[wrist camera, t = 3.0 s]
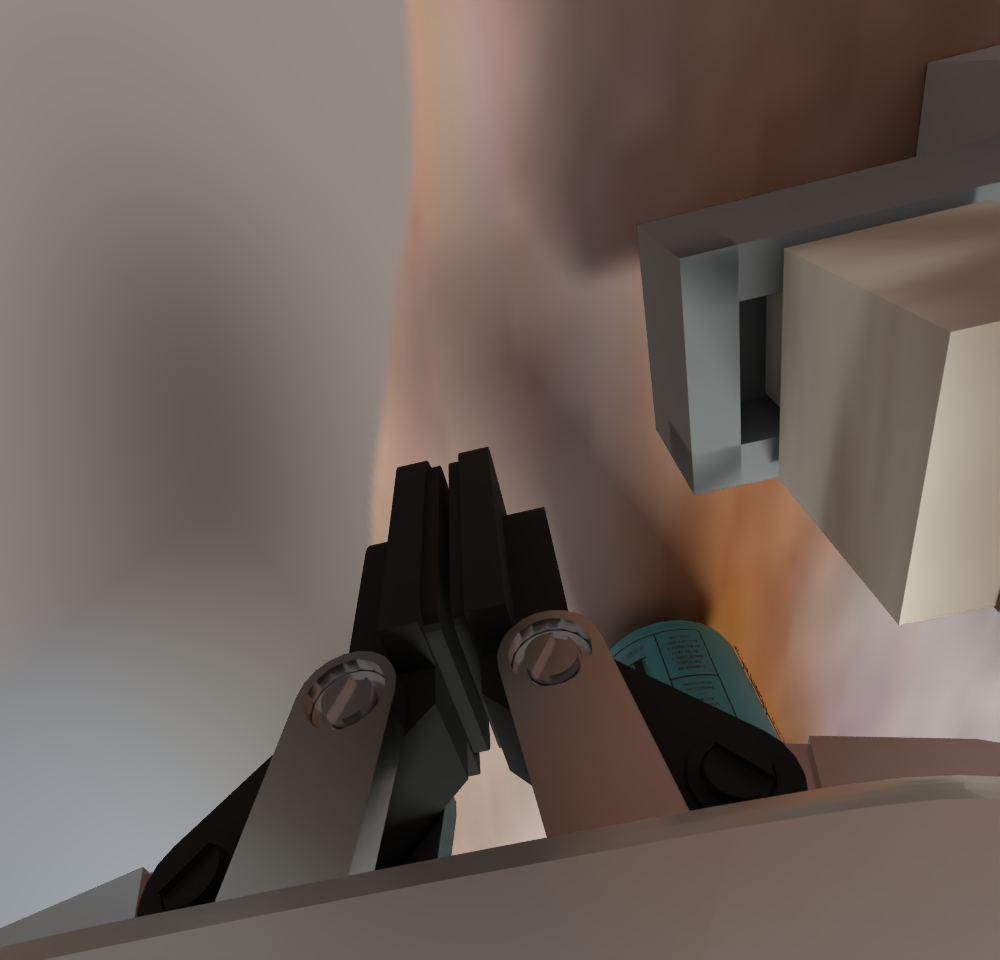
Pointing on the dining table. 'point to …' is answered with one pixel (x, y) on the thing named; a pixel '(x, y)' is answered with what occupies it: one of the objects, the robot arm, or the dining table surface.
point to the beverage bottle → (695, 667)
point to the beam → (760, 265)
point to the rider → (897, 404)
